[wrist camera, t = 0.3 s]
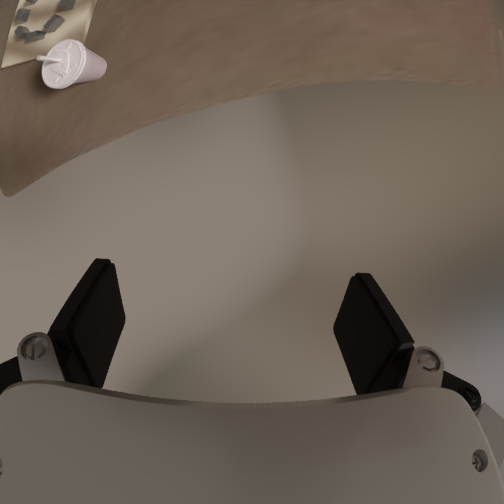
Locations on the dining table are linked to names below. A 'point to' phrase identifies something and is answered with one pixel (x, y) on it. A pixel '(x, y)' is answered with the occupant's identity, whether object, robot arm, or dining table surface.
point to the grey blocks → (50, 25)
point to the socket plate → (39, 15)
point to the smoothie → (70, 65)
